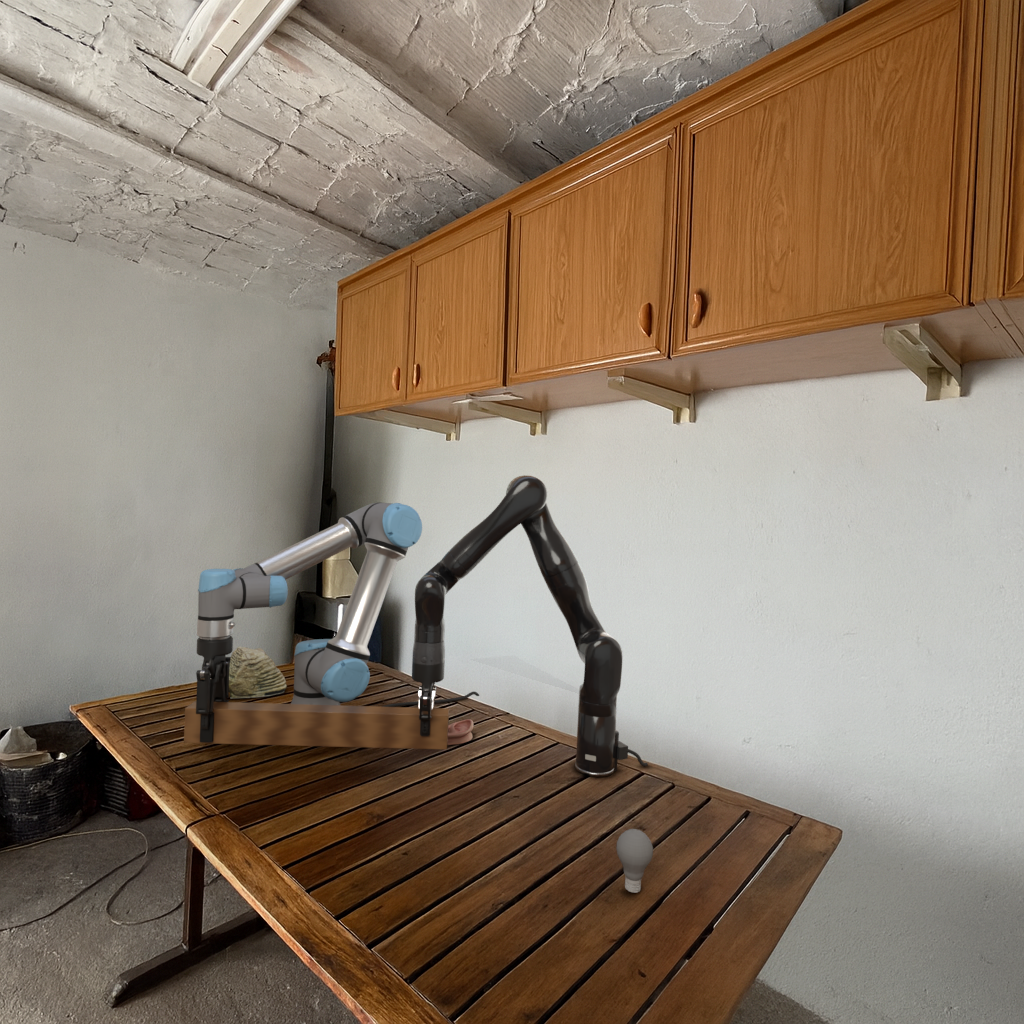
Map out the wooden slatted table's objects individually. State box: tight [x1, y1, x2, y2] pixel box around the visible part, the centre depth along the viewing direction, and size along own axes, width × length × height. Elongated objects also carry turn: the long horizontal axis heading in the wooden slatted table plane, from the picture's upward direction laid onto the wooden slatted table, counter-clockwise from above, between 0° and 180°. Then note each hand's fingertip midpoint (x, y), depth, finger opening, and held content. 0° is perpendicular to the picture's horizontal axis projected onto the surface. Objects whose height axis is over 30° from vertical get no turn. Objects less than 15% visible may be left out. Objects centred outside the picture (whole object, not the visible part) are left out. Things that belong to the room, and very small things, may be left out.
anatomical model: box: [447, 718, 474, 746], centre depth 169 cm, size 13×4×12 cm
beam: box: [183, 700, 450, 750], centre depth 147 cm, size 59×5×8 cm, turn 93°
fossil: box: [229, 646, 288, 699], centre depth 198 cm, size 9×18×15 cm, turn 132°
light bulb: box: [615, 828, 654, 894], centre depth 106 cm, size 6×6×10 cm
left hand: (211, 736), depth 146 cm, fingers closed on beam, 5 cm apart
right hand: (425, 730), depth 149 cm, fingers closed on beam, 5 cm apart
